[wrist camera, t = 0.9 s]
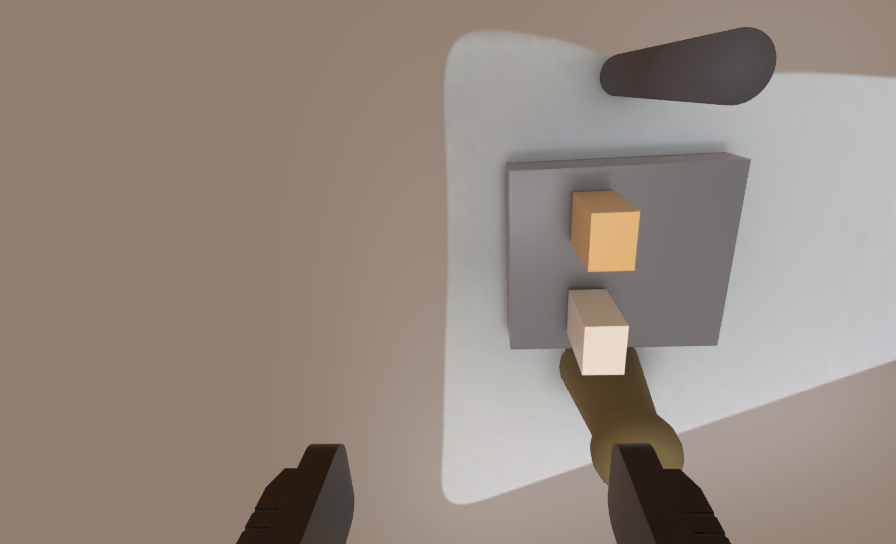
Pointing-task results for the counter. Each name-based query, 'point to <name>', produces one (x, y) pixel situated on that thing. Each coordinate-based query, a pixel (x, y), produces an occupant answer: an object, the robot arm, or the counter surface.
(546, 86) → the counter surface
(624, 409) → the olive knobbed post
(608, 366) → the cream rectangular block
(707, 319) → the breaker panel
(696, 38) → the post
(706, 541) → the robot arm
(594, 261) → the block
